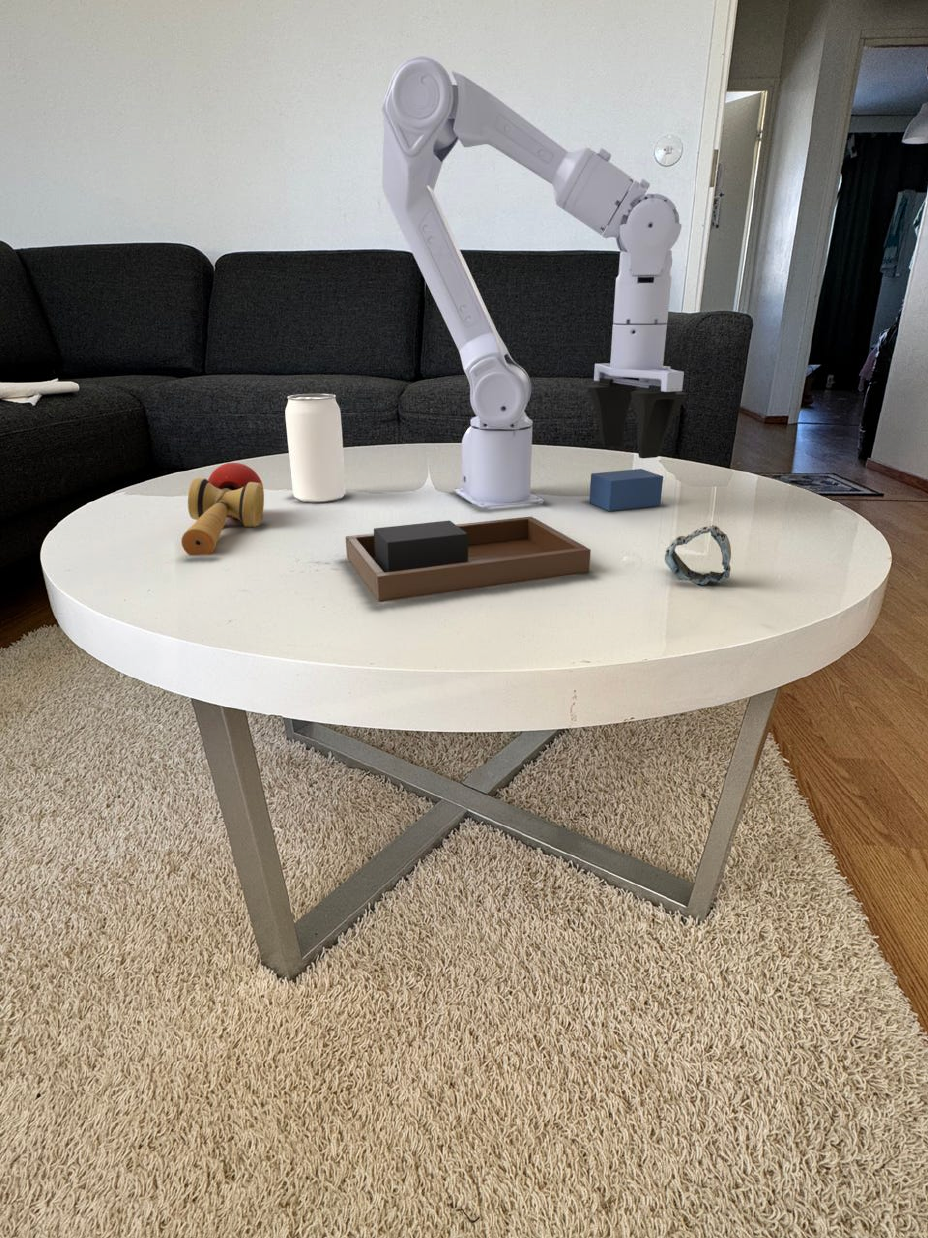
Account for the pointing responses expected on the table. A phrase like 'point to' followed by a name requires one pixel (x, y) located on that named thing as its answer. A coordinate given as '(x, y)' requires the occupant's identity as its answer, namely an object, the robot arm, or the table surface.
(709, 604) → the table surface
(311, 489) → the can
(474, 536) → the tray
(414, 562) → the black rectangular block
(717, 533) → the rough grey ring
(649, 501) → the blue rectangular block
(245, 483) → the kendama
